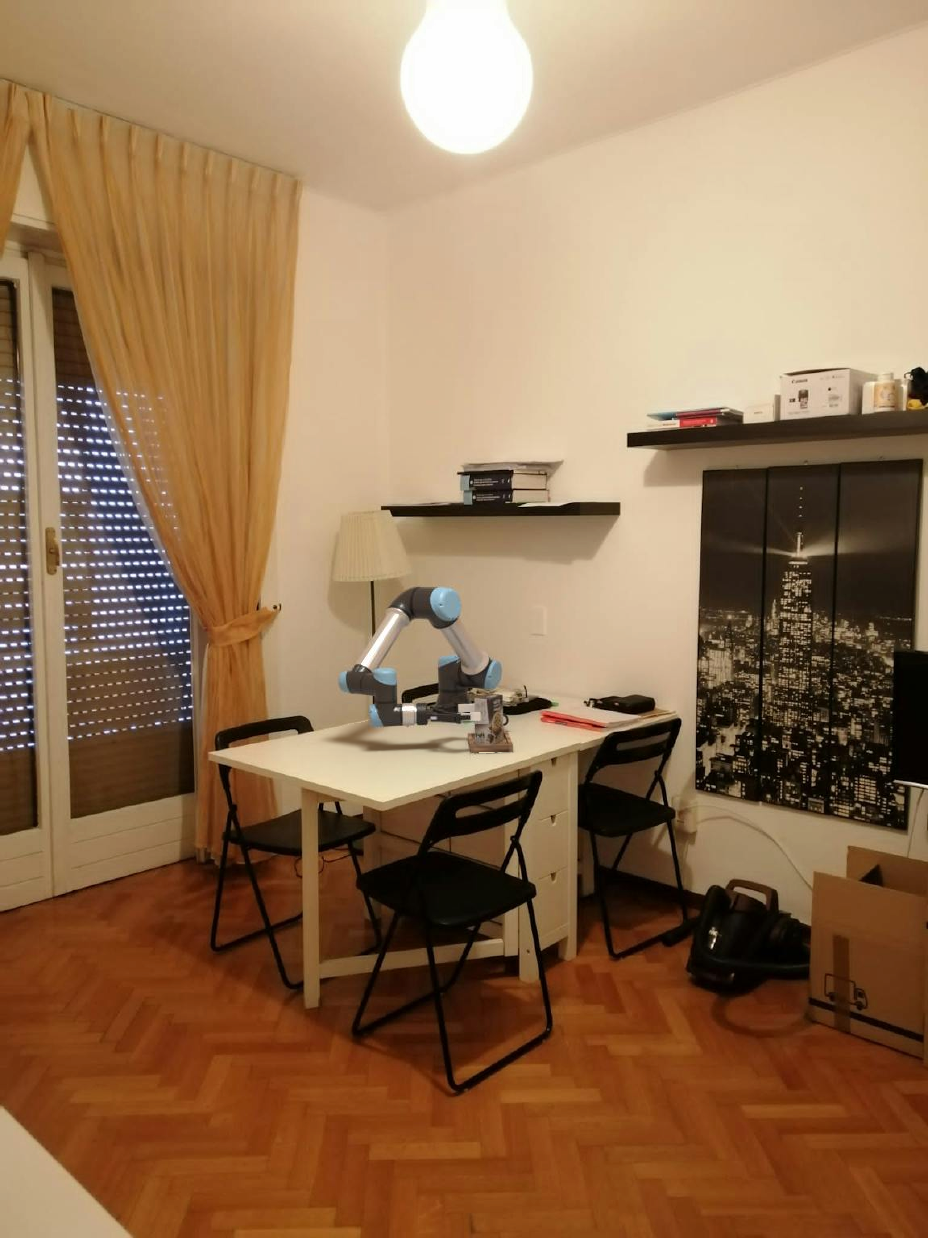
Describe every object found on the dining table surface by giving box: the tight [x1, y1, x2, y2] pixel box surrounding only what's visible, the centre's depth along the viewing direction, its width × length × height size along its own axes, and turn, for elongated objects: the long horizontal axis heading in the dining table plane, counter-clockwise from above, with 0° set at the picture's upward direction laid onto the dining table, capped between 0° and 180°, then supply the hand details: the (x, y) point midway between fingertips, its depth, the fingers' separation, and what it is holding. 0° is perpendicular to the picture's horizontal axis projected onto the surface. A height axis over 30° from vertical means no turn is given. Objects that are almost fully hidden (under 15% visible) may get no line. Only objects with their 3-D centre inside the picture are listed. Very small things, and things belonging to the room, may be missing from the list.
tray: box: [467, 731, 514, 754], centre depth 307 cm, size 18×14×3 cm
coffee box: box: [473, 693, 504, 745], centre depth 306 cm, size 9×6×16 cm
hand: (479, 712), depth 305 cm, fingers open, 13 cm apart
